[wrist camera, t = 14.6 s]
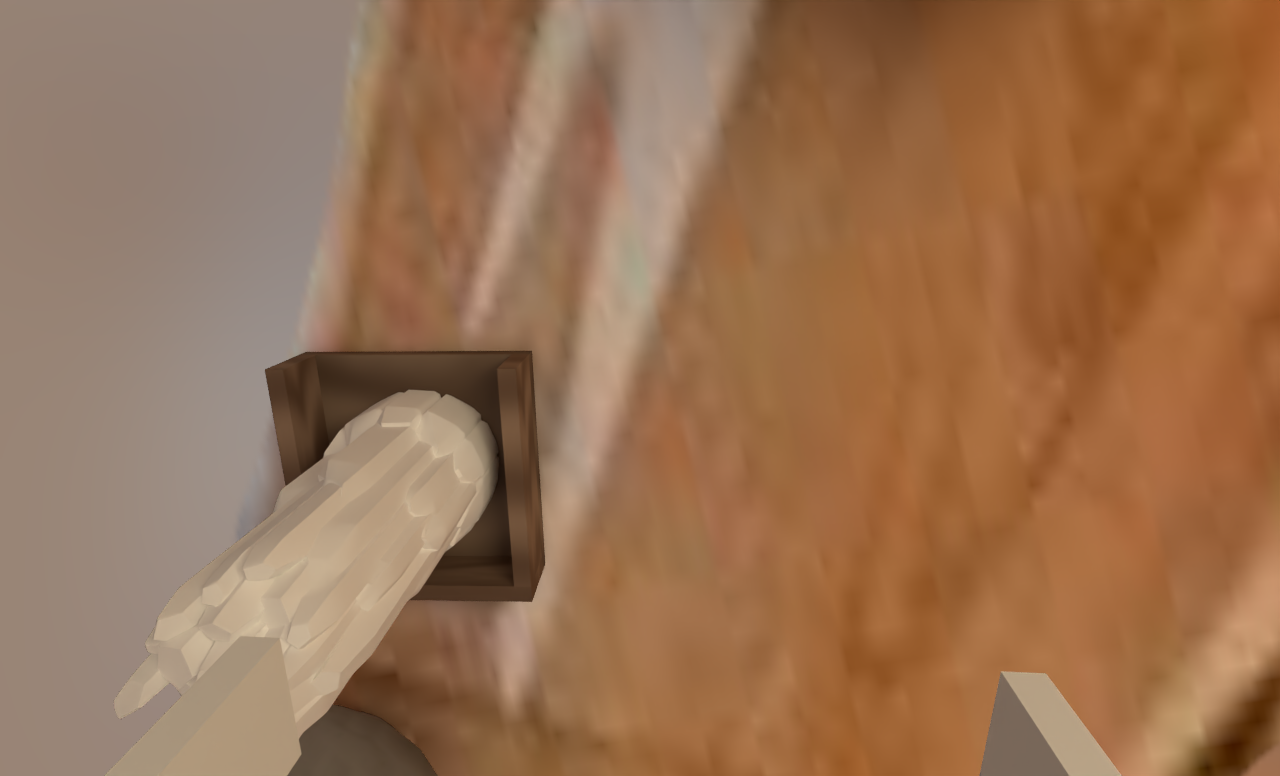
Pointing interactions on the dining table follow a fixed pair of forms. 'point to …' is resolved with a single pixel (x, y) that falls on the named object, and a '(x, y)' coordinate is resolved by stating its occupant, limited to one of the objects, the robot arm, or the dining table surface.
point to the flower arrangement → (357, 748)
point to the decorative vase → (333, 553)
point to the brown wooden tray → (486, 380)
